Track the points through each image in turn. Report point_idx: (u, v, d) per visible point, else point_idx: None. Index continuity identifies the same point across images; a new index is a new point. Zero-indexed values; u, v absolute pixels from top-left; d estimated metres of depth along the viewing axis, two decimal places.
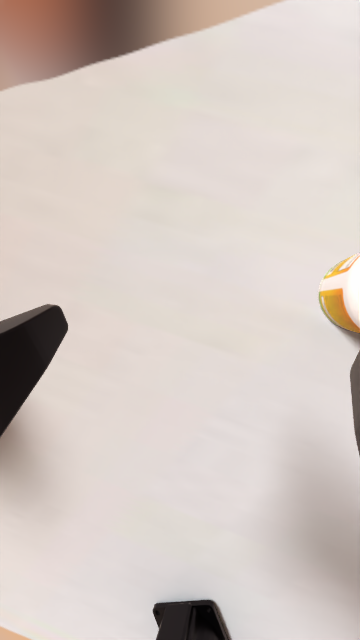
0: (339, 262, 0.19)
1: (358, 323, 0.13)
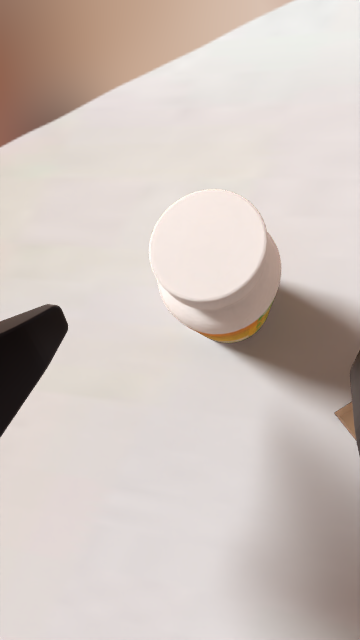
0: None
1: (178, 319, 0.11)
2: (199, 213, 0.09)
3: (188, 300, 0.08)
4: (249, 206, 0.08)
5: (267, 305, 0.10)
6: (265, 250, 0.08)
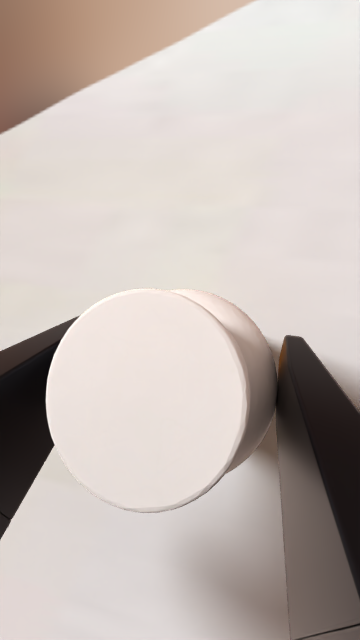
0: None
1: None
2: (129, 334, 0.05)
3: (105, 501, 0.05)
4: (216, 332, 0.04)
5: (255, 448, 0.07)
6: (245, 424, 0.04)
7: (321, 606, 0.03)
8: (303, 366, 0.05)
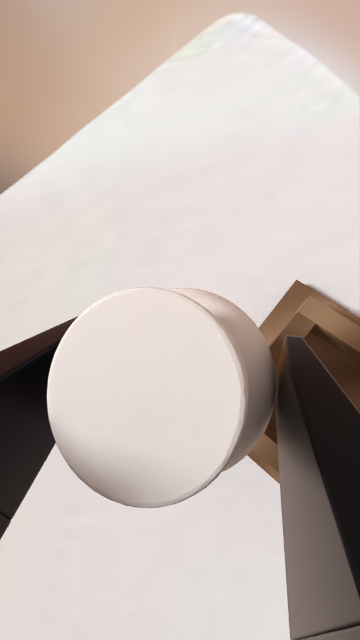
0: None
1: None
2: (129, 332, 0.05)
3: (105, 496, 0.05)
4: (214, 330, 0.04)
5: (254, 445, 0.07)
6: (242, 421, 0.04)
7: (321, 606, 0.03)
8: (303, 366, 0.05)
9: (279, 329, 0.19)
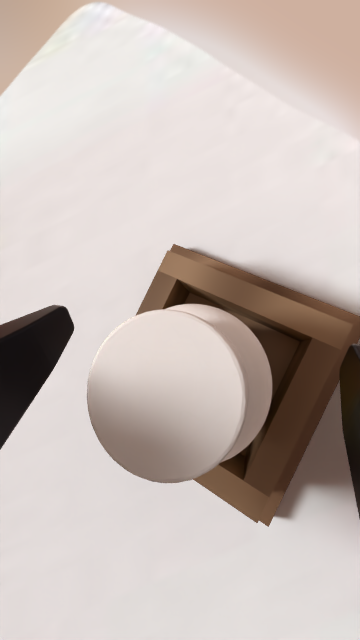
0: None
1: None
2: (153, 345, 0.06)
3: (136, 475, 0.06)
4: (222, 345, 0.06)
5: (253, 438, 0.08)
6: (243, 416, 0.06)
7: None
8: None
9: None
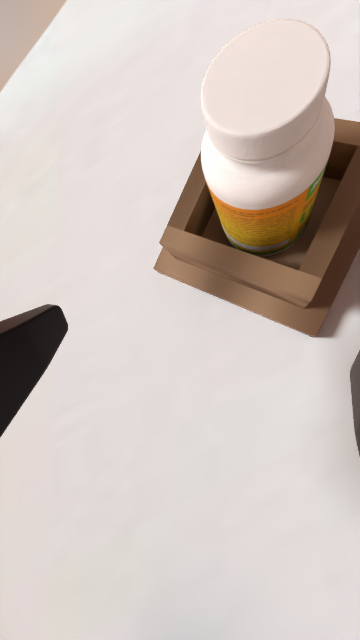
0: None
1: (224, 196, 0.11)
2: (254, 48, 0.08)
3: (245, 136, 0.08)
4: (309, 27, 0.08)
5: (320, 166, 0.10)
6: (328, 69, 0.08)
7: None
8: None
9: None
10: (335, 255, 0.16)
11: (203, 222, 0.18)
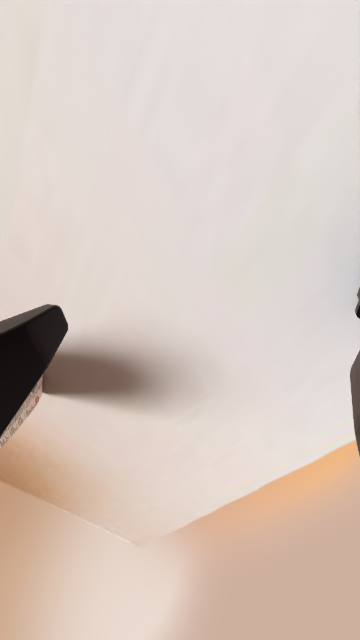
0: None
1: None
2: None
3: None
4: None
5: None
6: None
7: None
8: None
9: None
10: None
11: None
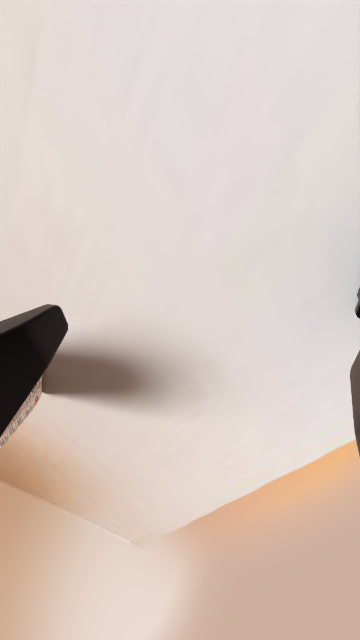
0: None
1: None
2: None
3: None
4: None
5: None
6: None
7: None
8: None
9: None
10: None
11: None
